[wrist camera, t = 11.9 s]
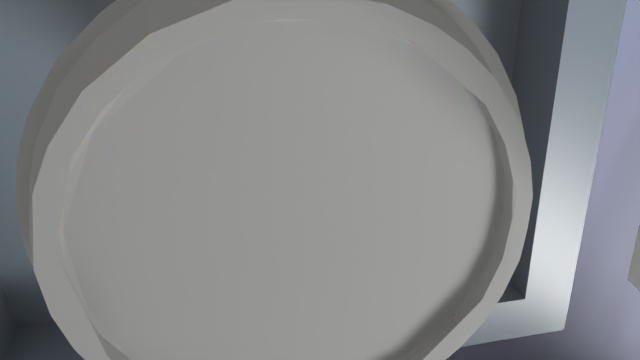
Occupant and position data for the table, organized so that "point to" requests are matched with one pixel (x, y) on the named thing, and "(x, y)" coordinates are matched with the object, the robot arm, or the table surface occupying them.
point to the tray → (536, 114)
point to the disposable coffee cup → (274, 181)
